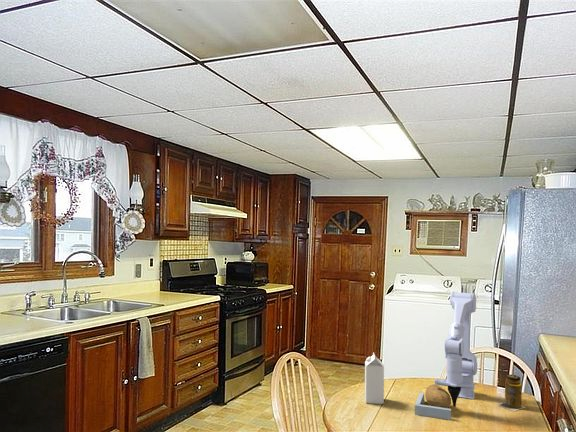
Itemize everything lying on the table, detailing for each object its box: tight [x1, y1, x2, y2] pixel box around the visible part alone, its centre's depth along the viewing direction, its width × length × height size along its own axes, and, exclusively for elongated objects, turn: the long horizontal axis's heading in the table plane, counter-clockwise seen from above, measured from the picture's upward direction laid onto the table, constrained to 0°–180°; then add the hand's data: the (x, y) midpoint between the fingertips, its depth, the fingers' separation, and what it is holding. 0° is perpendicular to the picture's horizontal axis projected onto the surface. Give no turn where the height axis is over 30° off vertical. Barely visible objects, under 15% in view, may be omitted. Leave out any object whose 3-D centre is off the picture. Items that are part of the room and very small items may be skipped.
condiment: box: [497, 374, 526, 412], centre depth 187 cm, size 7×8×12 cm
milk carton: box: [364, 352, 385, 405], centre depth 192 cm, size 7×7×19 cm
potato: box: [424, 383, 452, 409], centre depth 184 cm, size 10×14×8 cm
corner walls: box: [414, 391, 452, 421], centre depth 182 cm, size 16×13×4 cm
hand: (454, 405), depth 181 cm, fingers closed
